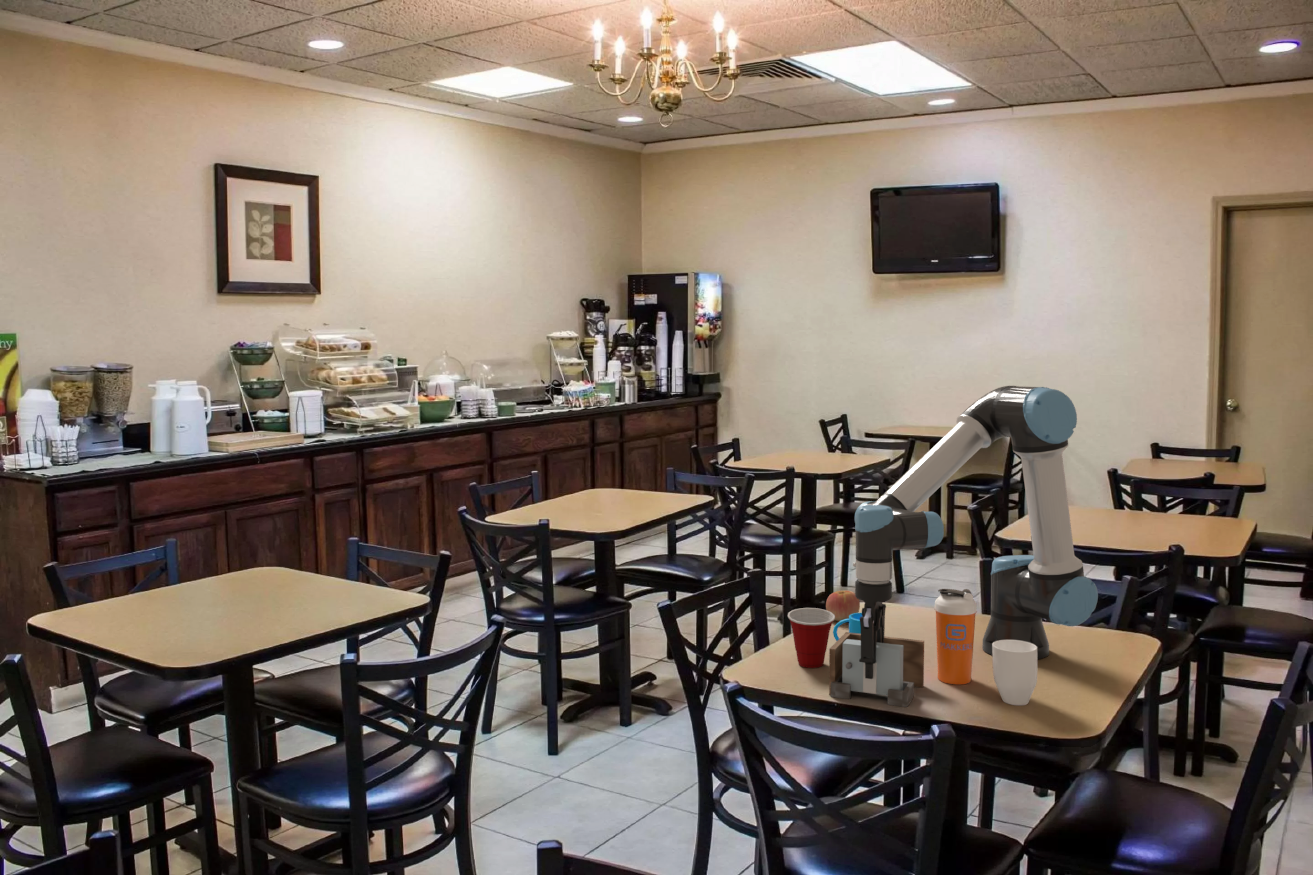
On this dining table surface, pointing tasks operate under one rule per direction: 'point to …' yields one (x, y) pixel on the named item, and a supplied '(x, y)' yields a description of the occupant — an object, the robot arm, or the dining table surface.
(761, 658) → the dining table surface
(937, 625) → the shaker bottle
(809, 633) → the plastic cup
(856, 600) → the apple
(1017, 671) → the mug
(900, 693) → the cabinet
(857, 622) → the mug
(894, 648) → the door
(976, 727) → the dining table surface
